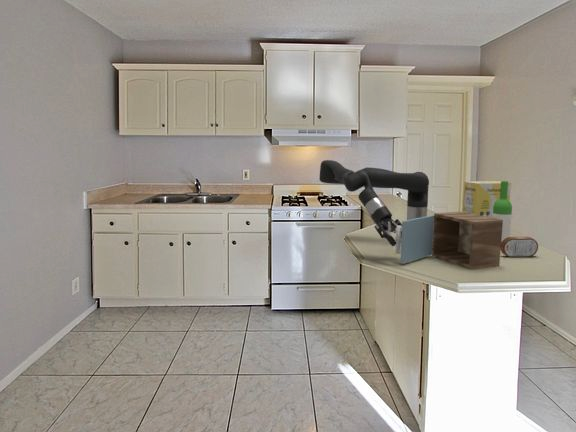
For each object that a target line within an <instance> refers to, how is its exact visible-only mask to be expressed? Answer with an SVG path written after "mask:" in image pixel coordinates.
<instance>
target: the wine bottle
mask: <svg viewBox="0 0 576 432" xmlns="http://www.w3.org/2000/svg"><path fill="white" fill-rule="evenodd" d="M500 182H501V189H500V198H499V200H497V201H496V202H495V203H494V206H493V216H492V218H497V219H502V220H503V226H502V239H501V243H502V241H503V240H504V239H505V238H507V237H511V228H512V227H511V224H512V214H513V213H512V212H513V206H512V203H511V200H510V201H509V200H507V192H508V183H509V180H501V181H500Z"/></svg>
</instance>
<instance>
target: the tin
mask: <svg viewBox="0 0 576 432" xmlns="http://www.w3.org/2000/svg"><path fill="white" fill-rule="evenodd" d="M538 250H539V243H538V242H537V240H536V239H534V238H533V237H531V236H510V237H507V238H505V239H504V240H503V241H502V243H501V251H500V253H502V254H503V255H504V256H507V257H508V258H531V257H533V256H535V255H536V253H537V252H538Z"/></svg>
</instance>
